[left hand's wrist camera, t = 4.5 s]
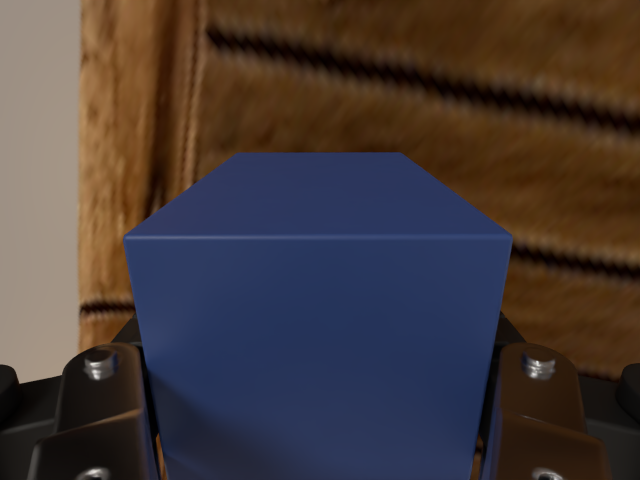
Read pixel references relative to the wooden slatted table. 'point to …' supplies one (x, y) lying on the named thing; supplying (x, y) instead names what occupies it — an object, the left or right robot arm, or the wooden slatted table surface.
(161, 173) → the wooden slatted table surface
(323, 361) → the box
